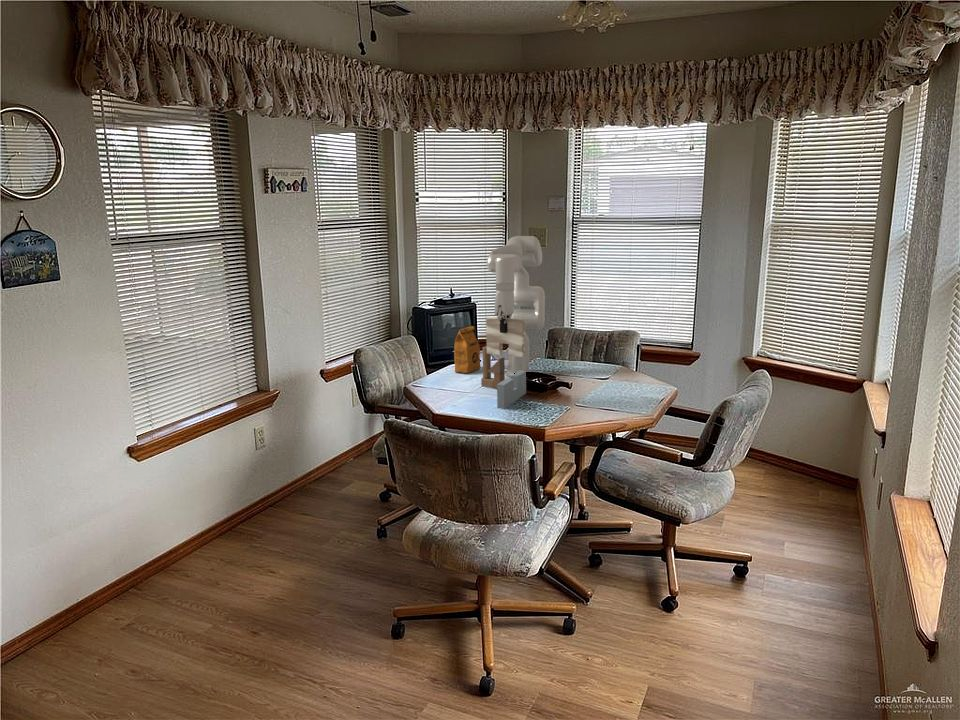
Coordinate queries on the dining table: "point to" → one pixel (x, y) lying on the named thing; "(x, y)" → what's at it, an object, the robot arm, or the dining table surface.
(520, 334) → the upright beige panel
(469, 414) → the dining table surface
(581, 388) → the dining table surface
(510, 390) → the grey rectangular panel
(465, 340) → the coffee package
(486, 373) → the tan post stand
